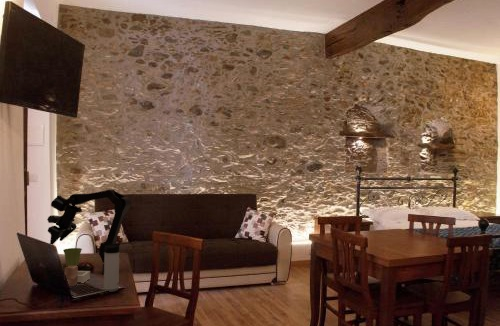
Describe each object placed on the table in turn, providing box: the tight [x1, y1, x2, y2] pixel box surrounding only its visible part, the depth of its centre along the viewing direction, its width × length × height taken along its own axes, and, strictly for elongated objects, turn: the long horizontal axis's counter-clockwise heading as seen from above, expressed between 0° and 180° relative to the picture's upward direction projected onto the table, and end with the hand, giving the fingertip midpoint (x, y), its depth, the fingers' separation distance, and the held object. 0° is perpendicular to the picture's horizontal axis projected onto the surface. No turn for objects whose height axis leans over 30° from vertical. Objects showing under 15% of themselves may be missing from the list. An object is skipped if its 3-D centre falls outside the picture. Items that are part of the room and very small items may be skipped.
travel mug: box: [103, 242, 121, 293], centre depth 184 cm, size 6×7×20 cm
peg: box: [64, 265, 79, 286], centre depth 186 cm, size 4×4×9 cm
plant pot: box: [63, 247, 83, 267], centre depth 224 cm, size 9×9×9 cm
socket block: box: [77, 270, 91, 283], centre depth 194 cm, size 8×8×4 cm
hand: (55, 242), depth 215 cm, fingers open, 9 cm apart
